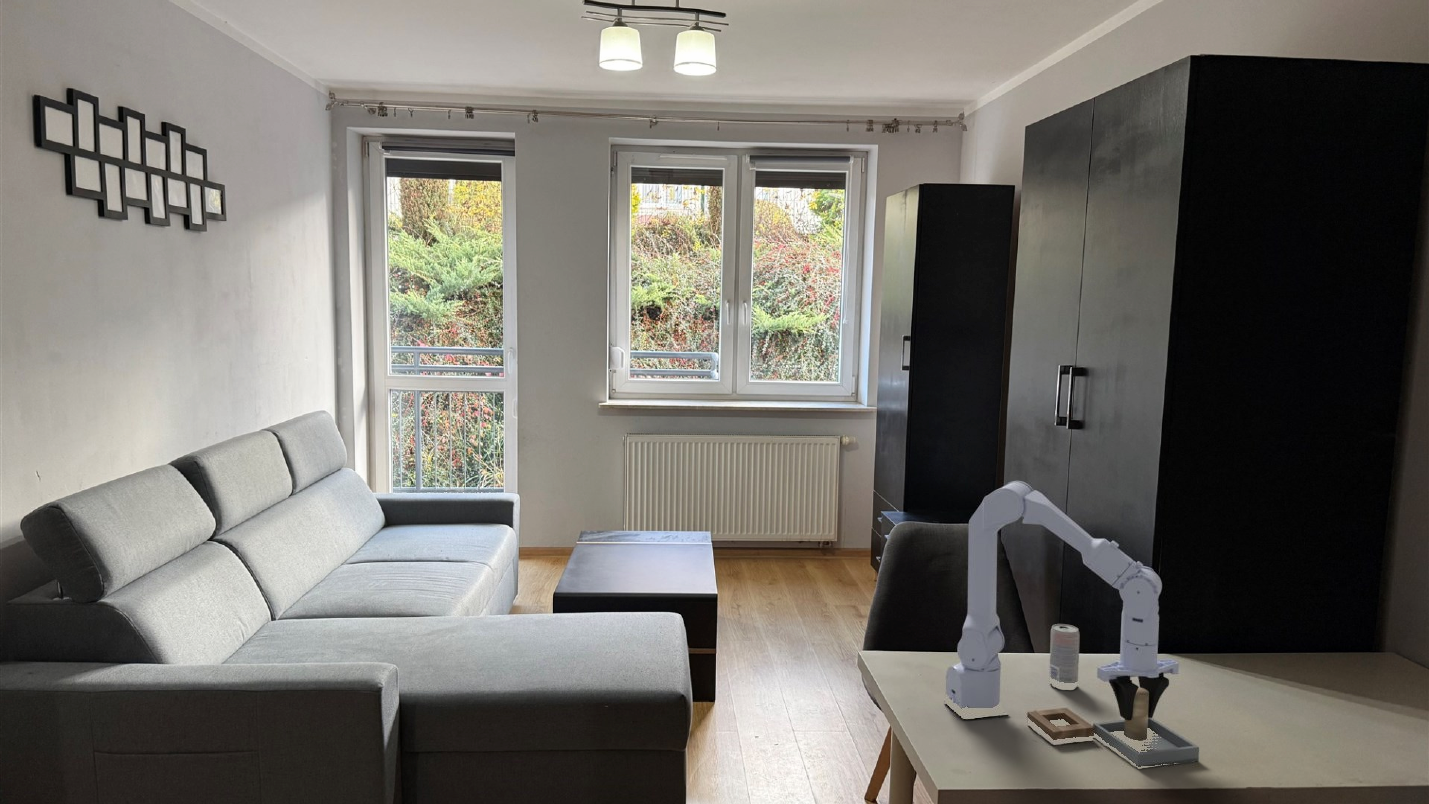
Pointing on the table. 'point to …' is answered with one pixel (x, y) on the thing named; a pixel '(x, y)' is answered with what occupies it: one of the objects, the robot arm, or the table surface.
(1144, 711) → the dowel
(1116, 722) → the tray
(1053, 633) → the energy drink
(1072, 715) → the frame
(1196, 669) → the table surface
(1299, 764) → the table surface
